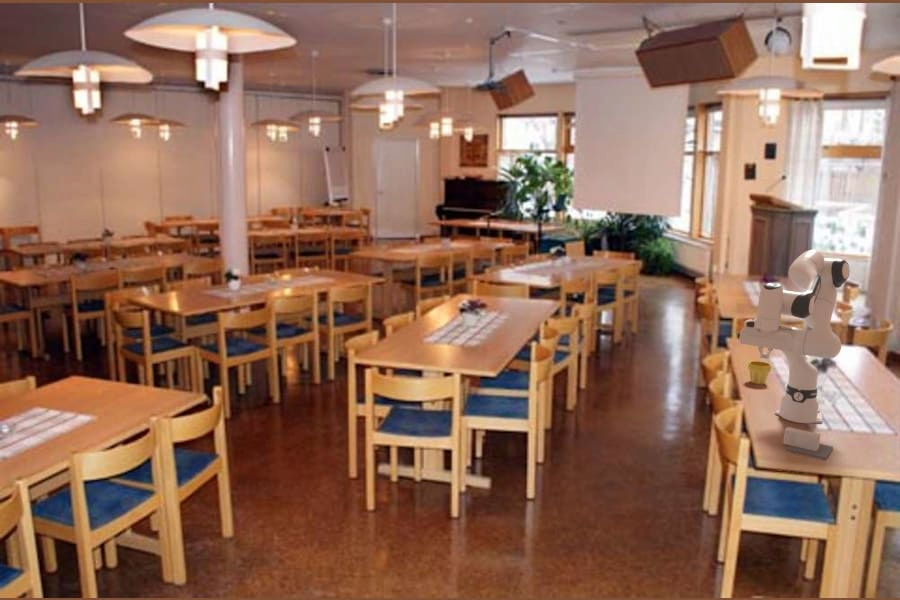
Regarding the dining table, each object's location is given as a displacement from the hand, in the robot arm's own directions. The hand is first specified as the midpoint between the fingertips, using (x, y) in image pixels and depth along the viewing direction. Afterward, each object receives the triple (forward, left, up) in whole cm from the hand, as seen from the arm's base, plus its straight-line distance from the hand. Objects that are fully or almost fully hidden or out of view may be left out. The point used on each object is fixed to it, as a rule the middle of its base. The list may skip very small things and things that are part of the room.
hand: (764, 358), depth 311 cm
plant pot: (-74, -18, -31) cm, 83 cm away
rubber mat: (+7, +21, -31) cm, 38 cm away
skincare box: (+7, +12, -27) cm, 31 cm away
